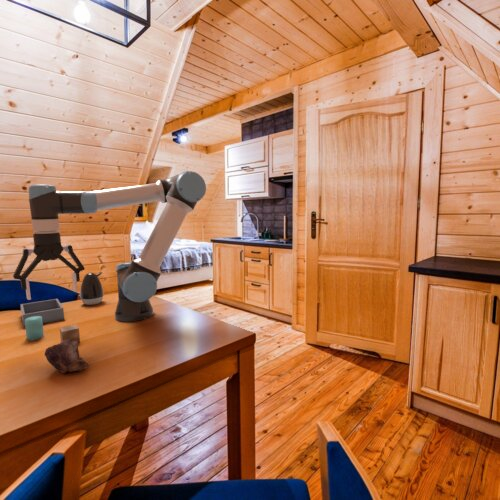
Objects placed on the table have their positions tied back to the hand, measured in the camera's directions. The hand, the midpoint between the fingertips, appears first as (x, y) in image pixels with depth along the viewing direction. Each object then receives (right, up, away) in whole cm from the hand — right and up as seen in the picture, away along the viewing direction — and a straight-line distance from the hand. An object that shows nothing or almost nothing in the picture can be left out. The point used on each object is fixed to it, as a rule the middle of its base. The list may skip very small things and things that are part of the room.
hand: (53, 294), depth 106 cm
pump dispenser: (-9, -11, +45) cm, 47 cm away
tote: (-20, -13, +25) cm, 35 cm away
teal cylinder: (-9, -16, +5) cm, 19 cm away
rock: (+15, -19, -18) cm, 30 cm away
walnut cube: (+5, -16, +1) cm, 17 cm away
